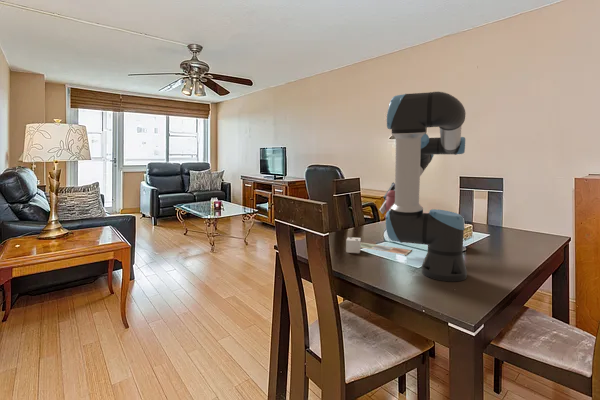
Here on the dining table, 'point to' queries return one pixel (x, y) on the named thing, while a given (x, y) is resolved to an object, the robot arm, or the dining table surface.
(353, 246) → the die
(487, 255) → the dining table surface
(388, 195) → the dildo
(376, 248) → the game board
